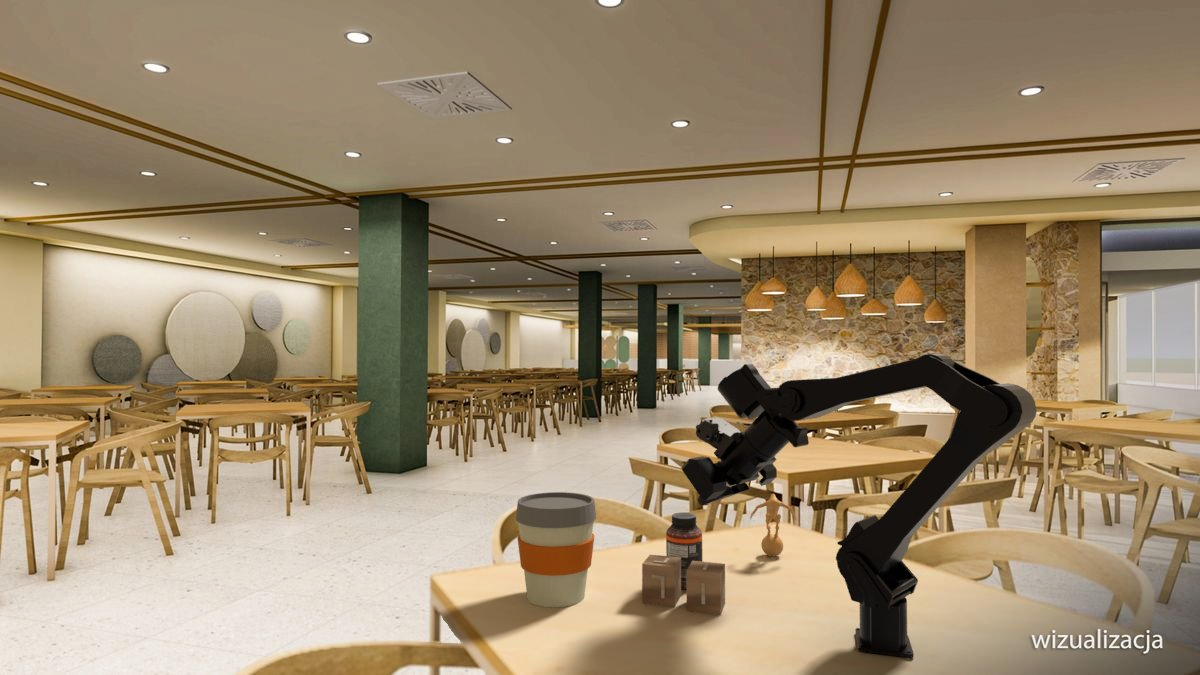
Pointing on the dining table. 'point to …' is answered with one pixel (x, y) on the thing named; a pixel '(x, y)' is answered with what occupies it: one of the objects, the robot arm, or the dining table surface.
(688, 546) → the supplement bottle
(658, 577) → the block seven
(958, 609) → the dining table surface
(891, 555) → the robot arm
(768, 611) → the dining table surface
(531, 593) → the reusable coffee cup
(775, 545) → the figurine
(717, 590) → the block one
